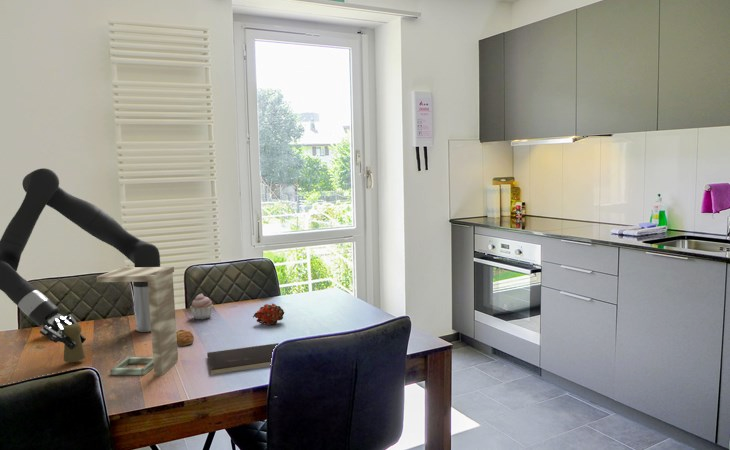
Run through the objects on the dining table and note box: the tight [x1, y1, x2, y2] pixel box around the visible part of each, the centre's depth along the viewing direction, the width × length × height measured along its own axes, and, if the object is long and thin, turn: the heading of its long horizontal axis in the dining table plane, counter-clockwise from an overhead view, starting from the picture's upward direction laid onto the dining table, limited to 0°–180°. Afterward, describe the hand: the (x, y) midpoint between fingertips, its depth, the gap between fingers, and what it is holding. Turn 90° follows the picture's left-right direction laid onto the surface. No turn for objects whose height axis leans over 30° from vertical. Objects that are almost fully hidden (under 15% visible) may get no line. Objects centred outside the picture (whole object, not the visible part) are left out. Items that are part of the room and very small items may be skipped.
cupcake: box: [189, 293, 214, 320], centre depth 221 cm, size 9×9×10 cm
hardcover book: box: [206, 342, 280, 375], centre depth 171 cm, size 16×23×2 cm
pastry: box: [176, 329, 195, 347], centre depth 191 cm, size 9×7×4 cm
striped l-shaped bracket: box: [96, 266, 179, 377], centre depth 165 cm, size 17×14×30 cm
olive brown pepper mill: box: [63, 323, 86, 363], centre depth 172 cm, size 6×6×11 cm
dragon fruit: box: [252, 303, 285, 326], centre depth 210 cm, size 8×8×12 cm
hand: (79, 344), depth 172 cm, fingers closed on olive brown pepper mill, 4 cm apart
